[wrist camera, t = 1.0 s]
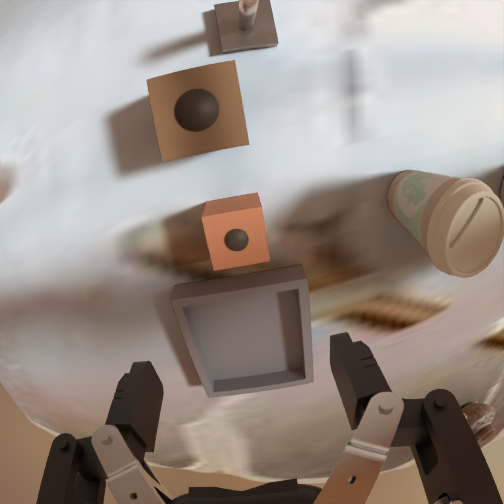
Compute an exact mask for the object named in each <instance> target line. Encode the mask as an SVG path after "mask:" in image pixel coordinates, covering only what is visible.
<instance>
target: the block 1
mask: <svg viewBox="0 0 504 504" xmlns="http://www.w3.org/2000/svg"><path fill="white" fill-rule="evenodd" d="M147 86H148V92H149V97H150V103H151V108H152V114H153V119H154V124H155V129H156V134H157V139H158V144H159V149H160V154H161V158H162V162H164V161H169V160H173V159H177V158H182V157H186V156H191V155H196V154H201V153H206V152H211V151H216V150H221V149H227V148H233V147H238V146H244V145H249V140H248V134H247V128H246V122H245V116H244V110H243V104H242V99H241V93H240V87H239V81H238V76H237V70H236V64H235V60H233V61H227V62H221V63H215V64H210V65H205V66H200V67H195V68H191V69H186V70H182V71H178V72H174V73H170V74H166V75H162V76H158V77H155V78H151V79H148V80H147Z"/></svg>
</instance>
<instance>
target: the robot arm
mask: <svg viewBox="0 0 504 504" xmlns="http://www.w3.org/2000/svg"><path fill="white" fill-rule="evenodd" d="M500 201H501V203H502V205H503V208H504V178H503V182H502V186H501V193H500ZM330 365H331V370H332V373H333V376H334V379H335V382H336V385H337V388H338V391H339V393H340V396H341V399H342V402H343V405H344V408H345V411H346V414H347V417H348V420H349V423H350V426H351V429H352V430H354V429H357V430H356V432H355V434H354V436H353V438H352V440H351V442H350V443H348V445H347V446H346V448H345V450H344V451H343V453H342V455H341V457H340V459H339V461H338V463H337V464H336V466H335V468H334V470H333V472H332V473H331V475H330V477H329V479H328V480H327V482H326V484H325V485H324V487H323V489H321V488H319V487H316V486H311V485H306V484H298V483H297V478H296V479H290V480H284V481H277V482H269V483H267V484H264V485H261V486H258V487H255V488H252V489H248V490H245V491H236V490H229V489H223V488H218V487H189V493H187V494H184V495H181V496H179V497H176V498H174V497H173V496H172V495H171V494H170V493H169V492H168V491H167V490H166V489H165V487H164V486H163V485H162V483H161V482H160V481H159V479H158V478H157V476H156V475H155V473H154V472H153V471H152V469H151V468H150V466H149V465H148V463H147V462H146V460H145V459H144V454H145V452H154V446H155V440H156V434H157V428H158V422H159V416H160V411H161V405H162V400H163V385H162V383H161V381H160V379H159V377H158V375H157V373H156V371H155V369H154V367H153V365H152V363H151V362H150V361H143V362H134V363H133V364H132V367H131V370H130V373H125V374H124V376H123V377H122V378H121V379H120V381H119V382H118V385H117V388H116V392H115V394H114V399H113V401H112V404H111V407H110V410H109V413H108V417H107V420H106V423H105V425H103V426H101V427H99V428H98V429H96V430H95V431H94V433H93V435H92V436H91V437H87V438H82V439H77V440H76V439H75V438H74V437H73V436H72V435H71V434H68V433H64V434H60V435H59V436H57V437H56V438H55V439H54V441H53V443H52V446H51V449H50V452H49V456H48V459H47V463H46V467H45V470H44V474H43V478H42V482H41V486H40V490H39V494H38V499H37V503H36V504H103V502H104V494H105V487H106V484H107V486H108V487H109V489H110V491H111V493H112V495H113V497H114V499H115V500H116V502H117V504H365V502H366V500H367V498H368V496H369V494H370V492H371V490H372V488H373V486H374V484H375V482H376V480H377V478H378V475H379V473H380V471H381V469H382V466H383V464H384V462H385V459H386V457H387V454H388V451H389V448H390V447H399V446H410V447H411V450H412V453H413V456H414V458H415V461H416V464H417V467H418V470H419V474H420V477H421V480H422V483H423V486H424V489H425V493H426V496H427V499H428V503H429V504H503V503H502V500H501V497H500V494H499V492H498V489H497V486H496V484H495V481H494V479H493V476H492V474H491V472H490V469H489V467H488V465H487V462H486V460H485V458H484V455H483V453H482V451H481V449H480V446H479V444H478V442H477V440H476V438H475V436H474V434H473V431H472V429H471V427H470V425H469V423H468V421H467V419H466V417H465V415H464V413H463V411H462V409H461V408H460V406H459V404H458V402H457V400H456V398H455V396H454V395H453V394H452V393H451V392H449V391H448V390H445V389H436V390H433V391H431V392H429V393H428V394H427V396H426V397H425V398H424V399H403V398H401V397H400V396H398V395H397V394H395V393H393V392H392V391H391V389H390V387H389V385H388V383H387V381H386V379H385V377H384V375H383V373H382V371H381V369H380V367H379V366H378V365H377V362H376V360H375V358H374V356H373V354H372V352H371V350H370V348H369V347H368V346H367V345H365V344H364V343H363V342H362V341H357V342H352V340H351V338H350V336H349V334H348V332H345V333H340V334H336V335H331V336H330ZM76 478H77V479H76ZM75 483H76V484H75Z"/></svg>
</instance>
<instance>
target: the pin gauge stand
mask: <svg viewBox="0 0 504 504" xmlns="http://www.w3.org/2000/svg"><path fill="white" fill-rule="evenodd" d="M214 7H215V13H216V19H217V24H218V30H219V35H220V41H221V47H222V52H223V53H227V52H233V51H240V50H247V49H255V48H264V47H274V46H277V45H278V38H277V33H276V28H275V23H274V18H273V13H272V9H271V4H270V0H239V1H236V2H228V3H222V4H216V5H214Z"/></svg>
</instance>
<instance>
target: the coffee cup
mask: <svg viewBox="0 0 504 504" xmlns="http://www.w3.org/2000/svg"><path fill="white" fill-rule="evenodd" d="M387 202H388V206H389V209H390V211H391V213H392V214H393V215H394V216H395V217H396V218H397V219H398V220H399V221H400V223H401V224H402V225H403V226H404V227H405V228H406V229H407V230H408V231H409V232H410V233H411V234H412V235H413V237H414V238H415V239H416V240H417V241H418V242H419V243H420V244H421V245H422V247H423V248H424V249H425V250H426V251H427V252H428V253H429V257H430V259H431V261H432V263H433V264H434V265H435V267H436V268H438V269H439V270H441V271H442V272H444V273H446V274H449V275H453V276H458V277H462V278H467V277H472V276H474V275H476V274H478V273H480V272H481V271H482V270H484V269H485V268H486V267H487V266H488V265H489V264H490V262H491V261H492V260H493V258H494V257H495V255H496V254H497V252H498V250H499V248H500V245H501V243H502V239H503V236H504V208H503V205H502V203H501V201H500V199H499V198H498V197H497V196H496V195H495V194H494V192H493V191H492V190H491V188H490V187H489V186H487V185H486V184H484V183H483V182H482V181H480V180H478V179H475V178H465V179H460V178H455V177H450V176H445V175H439V174H434V173H428V172H422V171H415V170H406V171H403V172H401V173H399V174H398V175H397V176H396V177H395V178H394V179H393V181H392V182H391V184H390V186H389V189H388V194H387Z"/></svg>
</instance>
